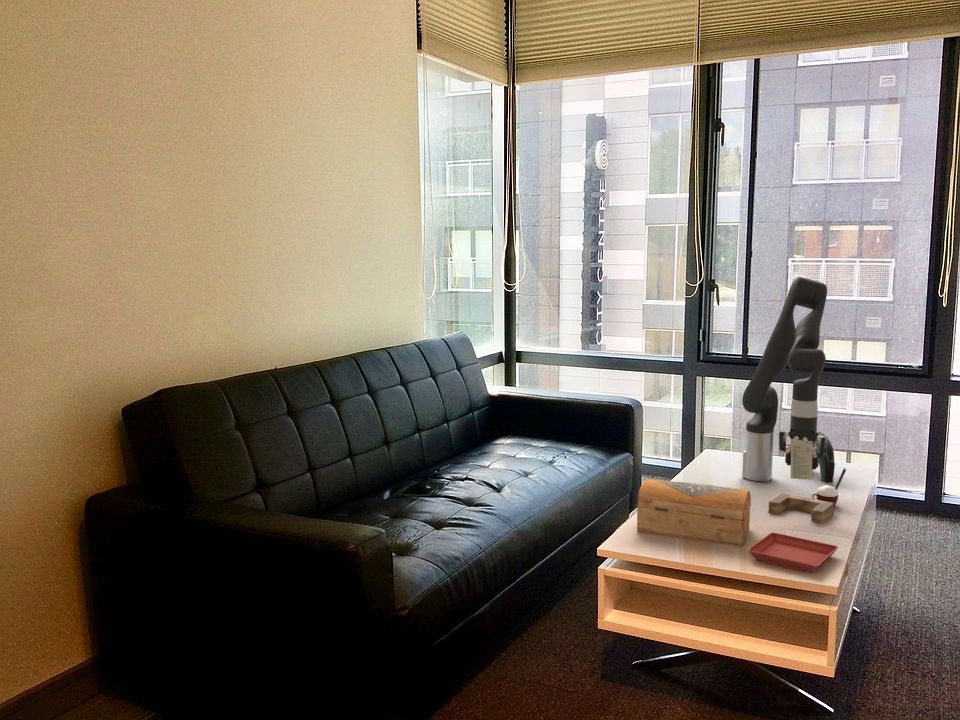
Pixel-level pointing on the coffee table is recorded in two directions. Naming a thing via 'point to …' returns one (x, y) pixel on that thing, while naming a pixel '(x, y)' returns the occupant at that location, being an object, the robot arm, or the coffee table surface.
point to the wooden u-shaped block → (802, 506)
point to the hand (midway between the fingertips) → (801, 466)
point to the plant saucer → (792, 552)
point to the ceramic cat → (826, 461)
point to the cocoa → (829, 491)
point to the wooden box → (694, 511)
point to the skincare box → (801, 460)
